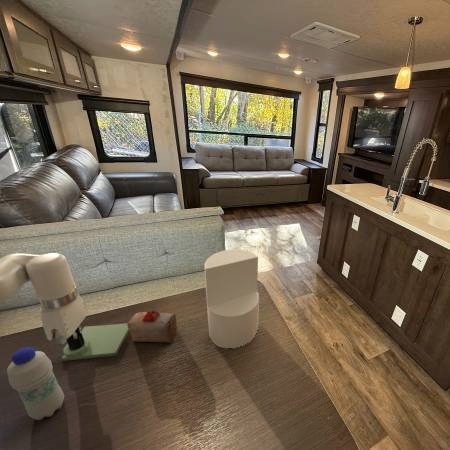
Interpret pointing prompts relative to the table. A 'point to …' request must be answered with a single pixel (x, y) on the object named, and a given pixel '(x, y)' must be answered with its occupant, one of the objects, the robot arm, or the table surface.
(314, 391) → the table surface
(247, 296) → the cylinder
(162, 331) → the food item
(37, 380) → the bottle
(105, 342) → the scale
